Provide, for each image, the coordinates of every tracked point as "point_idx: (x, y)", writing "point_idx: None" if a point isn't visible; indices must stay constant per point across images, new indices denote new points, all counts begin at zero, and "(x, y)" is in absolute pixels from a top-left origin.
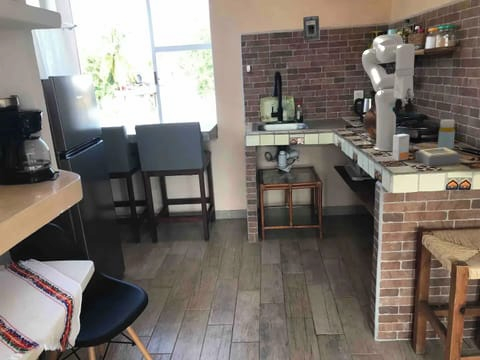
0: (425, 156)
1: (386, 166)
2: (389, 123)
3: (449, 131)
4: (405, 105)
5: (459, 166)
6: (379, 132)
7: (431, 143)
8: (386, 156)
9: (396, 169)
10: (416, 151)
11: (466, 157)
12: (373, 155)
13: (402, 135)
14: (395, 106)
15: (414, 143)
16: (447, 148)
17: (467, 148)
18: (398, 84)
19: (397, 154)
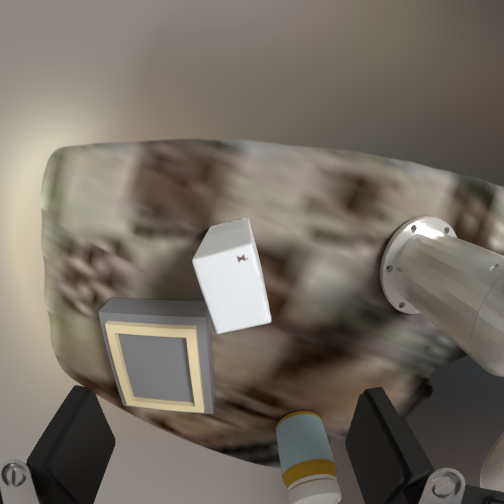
0: (124, 312)
1: (148, 150)
2: (466, 316)
3: (283, 475)
4: (38, 446)
5: (97, 366)
6: (462, 251)
7: None
8: (308, 214)
9: (99, 173)
10: (202, 317)
11: (187, 426)
12: (348, 169)
13: (214, 292)
14: (383, 420)
15: (419, 375)
16: (277, 428)
17: None
18: None
19: (211, 230)
